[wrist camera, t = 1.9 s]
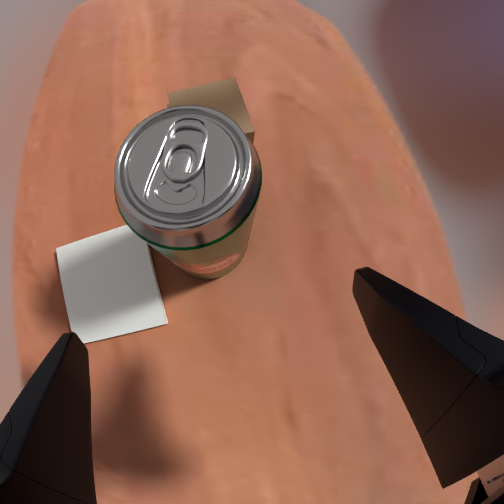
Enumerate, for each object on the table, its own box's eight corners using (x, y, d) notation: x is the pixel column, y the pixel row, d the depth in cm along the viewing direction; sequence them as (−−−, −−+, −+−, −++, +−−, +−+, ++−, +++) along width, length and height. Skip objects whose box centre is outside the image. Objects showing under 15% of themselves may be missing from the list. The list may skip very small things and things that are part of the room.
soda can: (166, 274, 20) (86, 233, 8) (178, 201, 21) (127, 94, 9) (242, 284, 20) (255, 254, 9) (251, 209, 21) (272, 102, 10)
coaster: (168, 323, 20) (166, 323, 19) (79, 344, 19) (75, 345, 18) (144, 222, 21) (141, 220, 20) (60, 249, 20) (56, 248, 19)
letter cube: (250, 163, 22) (254, 131, 18) (184, 180, 22) (174, 151, 17) (234, 114, 23) (235, 77, 18) (173, 129, 22) (162, 94, 18)
